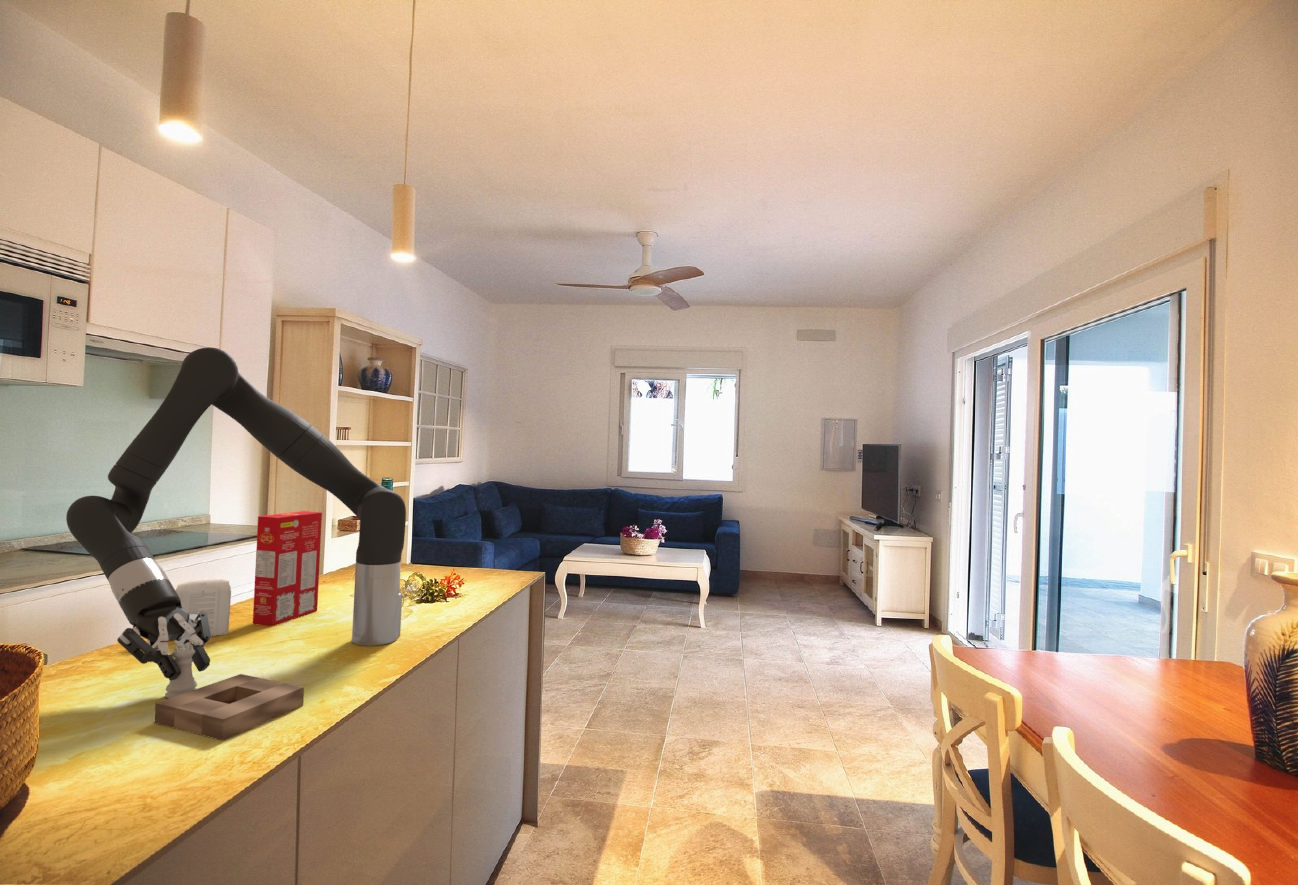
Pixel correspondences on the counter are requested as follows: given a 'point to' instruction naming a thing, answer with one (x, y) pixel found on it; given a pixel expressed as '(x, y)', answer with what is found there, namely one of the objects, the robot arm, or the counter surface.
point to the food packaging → (286, 567)
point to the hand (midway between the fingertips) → (190, 672)
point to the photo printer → (207, 601)
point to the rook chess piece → (182, 672)
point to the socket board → (229, 706)
